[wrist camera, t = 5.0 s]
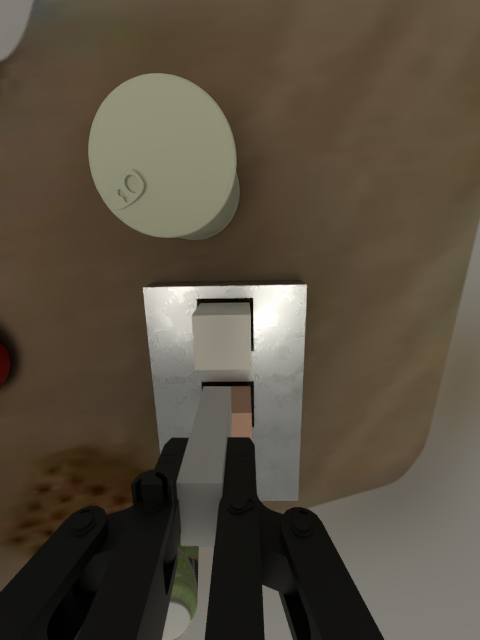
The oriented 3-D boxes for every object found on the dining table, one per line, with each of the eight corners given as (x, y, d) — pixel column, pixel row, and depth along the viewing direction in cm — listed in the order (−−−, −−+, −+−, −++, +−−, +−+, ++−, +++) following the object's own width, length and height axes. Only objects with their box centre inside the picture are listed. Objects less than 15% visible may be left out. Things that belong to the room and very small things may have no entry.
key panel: (171, 481, 38) (165, 501, 35) (151, 283, 31) (142, 287, 28) (293, 480, 38) (298, 500, 35) (300, 280, 31) (306, 284, 28)
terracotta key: (207, 426, 32) (200, 458, 27) (204, 386, 31) (197, 413, 26) (250, 425, 32) (252, 458, 27) (250, 386, 31) (251, 412, 26)
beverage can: (147, 520, 40) (107, 634, 28) (182, 488, 38) (156, 596, 27) (181, 544, 41) (157, 665, 29) (217, 515, 39) (206, 629, 28)
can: (127, 185, 29) (49, 147, 17) (196, 117, 27) (162, 24, 16) (190, 258, 31) (158, 268, 19) (258, 198, 29) (268, 169, 17)
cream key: (202, 349, 30) (195, 370, 25) (200, 303, 28) (191, 315, 23) (249, 348, 29) (251, 369, 25) (249, 302, 28) (250, 314, 23)
